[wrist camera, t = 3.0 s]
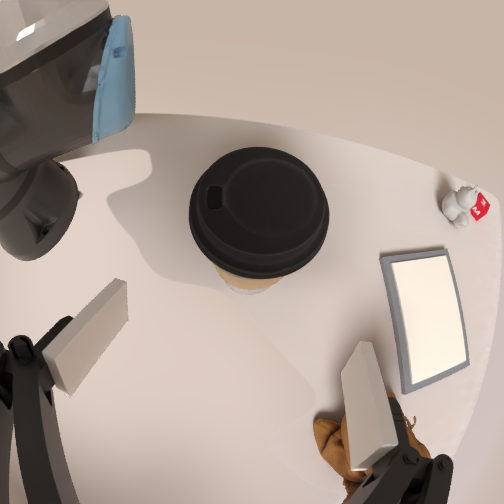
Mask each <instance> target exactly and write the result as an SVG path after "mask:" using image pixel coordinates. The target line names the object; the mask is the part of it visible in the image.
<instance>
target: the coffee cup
mask: <svg viewBox="0 0 504 504" xmlns="http://www.w3.org/2000/svg"><path fill="white" fill-rule="evenodd" d="M189 224H190V229H191V232H192V235H193V237H194V240H195V242H196V243H197V245H198V247H199V248H200V250H201V251H202V252H203V253H204V255H205V256H206V257H207V258H208V259H209V260H210V261H212V262H213V264H214V266H215V267H216V269H217V271H218V273H219V274H220V276H221V277H222V278H223V279H224V280H225V282H226V283H227V285H228V286H229V287H230V288H231V289H232V290H234V291H236V292H238V293H241V294H256V293H259V292H262V291H264V290H266V289H267V288H268V287H269V286H271V285H273V284H274V283H276V282H278V281H279V280H280V279H281V278H282V277H283V276H285V275H288V274H291V273H293V272H295V271H297V270H299V269H300V268H302V267H303V266H305V265H306V264H307V263H308V262H310V261H311V260H312V259H313V258H314V257H315V255H316V254H317V253H318V251H319V250H320V248H321V246H322V244H323V242H324V240H325V237H326V234H327V229H328V225H329V207H328V202H327V198H326V196H325V193H324V191H323V189H322V187H321V185H320V183H319V181H318V179H317V177H316V176H315V174H314V173H313V172H312V171H311V169H310V168H309V167H308V166H307V165H305V164H304V163H303V162H302V161H300V160H299V159H297V158H296V157H294V156H292V155H290V154H288V153H286V152H283V151H280V150H277V149H272V148H266V147H250V148H243V149H239V150H236V151H233V152H230V153H228V154H226V155H224V156H223V157H221V158H220V159H218V160H217V161H216V162H214V163H213V164H212V165H211V166H210V168H209V169H207V170H206V171H205V172H204V174H203V175H202V176H201V177H200V179H199V180H198V182H197V183H196V185H195V187H194V189H193V192H192V195H191V199H190V206H189Z"/></svg>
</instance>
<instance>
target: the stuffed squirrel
mask: <svg viewBox="0 0 504 504" xmlns="http://www.w3.org/2000/svg"><path fill="white" fill-rule="evenodd" d="M387 397H393V398H395V394H394V393H387ZM395 399H396V398H395ZM401 411H402V410H401ZM402 415H403V418H404V422H405V426H406V429H407V433H408V438H409V442H410V445H411V447H413V448H415V449H416V450H418V451H419V453H420V455H421V456H422V457H427V458H431V456H430V453H429V451H428V449H427V448H426V447H425V446H424V445H423V444H422V443H420V442H419V441H418V440H417V439H416V438H415V435H414V433H413V432H412V428H413V427H414V425H415V423H416V417H415V416H414V424H413V425H411V424H410V422H409V420H408V419H407V417H406V416H404V414H403V412H402ZM406 421H407V425H408V427H407V425H406ZM313 427H314V435H315V439H316V442H317V446H318V449H319V451H320V454H321V456H322V457H323V458H324V459H325V460H326V461H327V462H328V463H329V464H330V465H331V466H332V467H333V469H334V470H335V471H336V472H337V473H338V474H339V475H341V476H342V477H343V478H344V481H343V485H345V486H346V487H345V489H346V490H347V494H348V495H347V497H346V499H345V500H344V501H343V503H342V504H345V503H346V502H347V501H348V500H349V499H350V498H351V496H352V495H353V494H354V493H355V492H356V490H357V489H358V488H359V487H360V486H361V484H362V483H363V482H364V480H363V481H362V479H363V478H364V477H365V476H367V475H368V474H370V473H371V472H372V471H373V469H372V466H371V467H369V468H368V469H367V470H363V471H351V462H350V450H349V440H348V430H347V420H346V414H345V415H344V416H343V418H342V422H341V423H339V422H336V421H332V420H327V419H317V420H316V422H314V426H313Z"/></svg>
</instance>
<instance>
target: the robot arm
mask: <svg viewBox="0 0 504 504" xmlns="http://www.w3.org/2000/svg"><path fill="white" fill-rule="evenodd" d="M134 114H135V70H134V48H133V34H132V28H131V19H130V17H129V16H121V15H117V16H115V17H114V18H112V16H111V14H110V9H109V4H108V1H106V0H0V243H1V245H2V247H3V248H4V250H6V251H7V252H8V253H9V254H11V255H12V256H14V257H15V258H17V259H19V260H23V261H31V260H35V259H37V258H40V257H41V256H43V255H44V254H46V253H47V252H49V251H50V250H51V249H52V248H53V247H54V246H55V245H56V244H57V243H58V242H59V241H60V239H61V238H62V237H63V235H64V234H65V232H66V231H67V229H68V227H69V225H70V223H71V221H72V219H73V216H74V214H75V211H76V207H77V201H78V187H77V184H76V181H75V179H74V178H73V176H72V175H71V173H70V172H69V171H68V169H67V168H65V166H63V165H62V164H60V163H58V162H56V161H54V160H53V158H55V157H57V156H60V155H62V154H64V153H67V152H69V151H72V150H74V149H77V148H79V147H82V146H85V145H87V144H90V143H93V144H95V143H97V142H98V141H99V140H100V139H102V138H105V137H107V136H110V135H113V134H115V133H118V132H121V131H123V130H124V129H126V128H127V127H128V126H129V125H130V124H131V122H132V120H133V118H134ZM127 321H128V308H127V282H125V281H122V280H119V279H116V278H115V279H114V280H113V281H112V282H111V283H110V284H109V285H108V286H106V287H105V288H104V289H103V290H102V291H101V292H100V293H99V294H98V295H97V296H96V297H95V298H94V299H93V300H92V301H91V302H90V303H89V304H88V305H87V306H86V307H85V308H84V309H83V310H82V311H81V312H80V313H79V314H78V315H77V316H76V317H75V318H73V317H71V316H66V317H64V318H62V319H60V320H59V321H58V322H57V323H56V324H55V325H54V327H52V328H51V329H50V330H49V332H47V333H46V334H45V335H44V336H43V337H42V338H41V339H40V340H39V341H38V342H37V343H36V344H35V346H33V343H32V341H31V339H30V338H29V337H27V336H25V335H19V336H15V337H14V338H12V339H11V340H10V341H9V344H8V348H9V350H6V349H5V348H4V346H3V344H2V343H1V341H0V504H9V463H10V450H11V449H10V448H11V440H12V431H13V424H14V427H15V438H16V446H17V453H18V458H19V465H20V470H21V475H22V479H23V484H24V488H25V492H26V496H27V500H28V504H80V503H79V500H78V498H77V495H76V492H75V489H74V486H73V483H72V480H71V476H70V473H69V470H68V466H67V463H66V459H65V455H64V451H63V447H62V443H61V438H60V433H59V428H58V423H57V417H56V410H55V404H54V397H53V391H52V387H53V386H54V384H55V385H56V387H57V389H58V391H59V392H61V393H63V394H64V395H66V396H68V397H71V396H72V395H73V393H74V392H75V391H76V389H77V388H78V386H79V385H80V384H81V382H82V381H83V379H84V378H85V377H86V375H87V374H88V372H89V371H90V370H91V368H92V367H93V366H94V364H95V363H96V362H97V360H98V358H99V357H100V356H101V355H102V353H103V352H104V351H105V349H106V348H107V347H108V345H109V344H110V343H111V341H112V340H113V339H114V337H115V336H116V335H117V334H118V332H119V331H120V330H121V329H122V327H123V326H124V325H125V323H126V322H127ZM340 374H341V381H342V388H343V396H344V404H345V412H346V420H347V430H348V440H349V450H350V462H351V471H363V470H367V469H368V468H369V467H371V466H372V469H373V471H372V472H371V473H370V474H368V475H367V476H365V477H364V478H363V479H362V481H363V480H364V482H363V483H362V484H361V486H360V487H359V488H358V489H357V490H356V492H355V493H354V494H353V495H352V496H351V498H350V499H349V500H348V501H347V502H346V503H345V504H447V500H448V496H449V491H450V485H451V479H452V473H453V462H452V460H451V458H450V457H449V456H447V455H445V454H440V455H438V456H437V457H435V458H434V459H431V458H427V457H422V456H421V455H420V453H419V451H418V450H416V449H415V448H413V447H411V445H410V442H409V438H408V433H407V429H406V426H405V422H404V418H403V415H402V411H401V407H400V405H399V403H398V402H397V400H396V399H395V398H393V397H387V393H386V390H385V386H384V382H383V379H382V375H381V372H380V368H379V365H378V362H377V358H376V355H375V352H374V349H373V345H372V342H366V341H361V340H360V341H359V343H358V344H357V346H356V348H355V350H354V351H353V353H352V355H351V357H350V358H349V360H348V362H347V363H346V365H345V367H344V368H343V370H342V372H341V373H340Z"/></svg>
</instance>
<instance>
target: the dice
mask: <svg viewBox="0 0 504 504" xmlns="http://www.w3.org/2000/svg"><path fill="white" fill-rule="evenodd" d="M489 207H490V204H489V203H488V201H487V200H486V199H485V197H484V196H483V195H482V194H481V192H480V193H479V194H478V195H477V201H476V204H475V205H474V206H473V207H472V208H471V209H470V211H471V214H472V216H473V217H474V218H475V220H476V221H477V220H479V219H480V218H481V217H483V216H484V215H485V214H487V212H488V209H489Z"/></svg>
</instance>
